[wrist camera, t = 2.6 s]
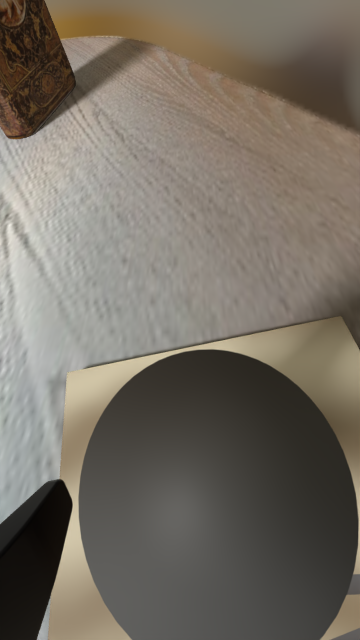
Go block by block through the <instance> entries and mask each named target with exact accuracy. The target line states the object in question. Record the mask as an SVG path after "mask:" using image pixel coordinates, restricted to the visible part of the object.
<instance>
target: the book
mask: <svg viewBox="0 0 360 640" xmlns="http://www.w3.org/2000/svg"><path fill="white" fill-rule="evenodd" d="M75 85H76V81H75V77H74V74H73V71H72V68H71V65H70V63H69V60H68V58H67V55H66V53H65V50H64V48H63V45H62V43H61V41H60V38H59V36H58V33H57V31H56V28H55V26H54V23H53V21H52V18H51V16H50V13H49V11H48V8H47V6H46V3H45V1H44V0H0V127H1V129H2V130H3V132H4V133H5V135H6V136H7V137H8V138H10V139H21V138H26V137H29V136H31V135H33V134H35V133H36V132H37V131H38V129H39V128H40V127H41V126H42V125H43V124H44V122H45V121H46V120H47V119H48V118H49V117H50V116H51V114H52V113H53V112H54V111H55V110H56V109H57V107H58V106H59V105H60V104H61V103H62V102H63V100H64V99H65V98H66V97H67V96H68V95H69V93H70V92H71V90H72V89H73V88H74V86H75Z"/></svg>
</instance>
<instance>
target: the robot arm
mask: <svg viewBox="0 0 360 640" xmlns="http://www.w3.org/2000/svg"><path fill="white" fill-rule="evenodd" d="M72 509H73V502H72V498H71V496H70V493H69V491H68V489H67V487H66V484H65V482H64V481H63V480H62V479H57V480H52V481H48V482H46V483H45V484H44V485H43V486H42V487H41V488H40V489H38V490H37V491H36V492H35V493H34V494H33V495H32V496H31V497H30V498H29V499H27V500H26V501H25V502H24V503H23V504H22V505H21V506H20V507H19V508H18V509H16V510H15V511H14V512H13V513H12V514H11V515H10V516H9V517H8V518H7V519H5V520H4V521H3V522H2V523H1V524H0V640H37V637H38V634H39V630H40V627H41V624H42V621H43V618H44V615H45V612H46V608H47V605H48V602H49V599H50V596H51V593H52V590H53V586H54V583H55V580H56V576H57V573H58V569H59V565H60V561H61V556H62V552H63V548H64V544H65V539H66V535H67V531H68V526H69V522H70V518H71V514H72Z"/></svg>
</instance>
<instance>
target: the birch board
mask: <svg viewBox="0 0 360 640" xmlns="http://www.w3.org/2000/svg"><path fill="white" fill-rule="evenodd" d="M202 349H215V350H225V351H231V352H235V353H240V354H243V355H246V356H249V357H252V358H255V359H257V360H259V361H261V362H263V363H266V364H268V365H270V366H271V367H273V368H275V369H276V370H278V371H279V372H281V373H282V374H284V375H285V376H287V377H288V378H289V379H290V380H292V381H293V382H294V383H295V384H296V385H298V386H299V387H300V388H301V389H302V390H303V391H304V392H305V393H306V394H307V395H308V396H309V397H310V398H311V399H312V401H313V402H314V403H315V404H316V406H317V407H318V408H319V410H320V411H321V412H322V413H323V415H324V416H325V418H326V419H327V421H328V423H329V424H330V426H331V427H332V429H333V431H334V432H335V434H336V437H337V439H338V441H339V443H340V445H341V447H342V449H343V451H344V454H345V457H346V460H347V463H348V465H349V468H350V471H351V475H352V479H353V484H354V488H355V492H356V499H357V508H358V517H359V531H358V549H357V556H356V563H355V569H354V573H353V576H352V580H351V583H350V586H349V590H348V593H347V595H346V597H345V600H344V602H343V604H342V606H341V608H340V610H339V613H338V615H337V617H336V618H335V620H334V621H333V623H332V624H331V625H330V627H329V628H328V630H327V631H326V633H325V634H324V636H323V637H322V638H321V639H320V640H360V350H359V348H358V346H357V344H356V343H355V341H354V339H353V337H352V335H351V333H350V331H349V330H348V328H347V326H346V324H345V322H344V320H343V318H342V316H338V317H333V318H328V319H324V320H319V321H314V322H309V323H304V324H299V325H295V326H290V327H285V328H280V329H275V330H270V331H266V332H261V333H256V334H251V335H246V336H241V337H237V338H232V339H227V340H222V341H217V342H212V343H208V344H203V345H198V346H193V347H188V348H183V349H179V350H174V351H169V352H164V353H159V354H154V355H150V356H145V357H140V358H135V359H130V360H125V361H121V362H116V363H111V364H106V365H101V366H96V367H91V368H87V369H82V370H77V371H72V372H67V383H66V397H65V411H64V424H63V438H62V452H61V466H60V479H62V480H63V481H64V482H65V484H66V487H67V489H68V491H69V493H70V496H71V498H72V502H73V509H72V514H71V518H70V522H69V526H68V531H67V535H66V539H65V544H64V548H63V552H62V556H61V561H60V565H59V569H58V573H57V576H56V580H55V583H54V586H53V590H52V593H51V604H50V618H49V632H48V640H132V639H131V638H130V637H129V636H128V635H127V633H126V632H125V631H124V630H123V629H122V628H121V627H120V625H119V624H118V623H117V622H116V620H115V619H114V617H113V616H112V614H111V612H110V611H109V609H108V608H107V606H106V605H105V603H104V601H103V599H102V597H101V595H100V593H99V591H98V589H97V587H96V585H95V583H94V581H93V578H92V575H91V572H90V569H89V567H88V564H87V561H86V557H85V553H84V548H83V544H82V540H81V532H80V524H79V503H78V495H79V484H80V475H81V470H82V465H83V460H84V456H85V453H86V449H87V446H88V443H89V440H90V438H91V435H92V433H93V430H94V428H95V426H96V424H97V422H98V420H99V418H100V416H101V415H102V413H103V411H104V409H105V408H106V407H107V405H108V404H109V402H110V401H111V400H112V398H113V397H114V396H115V395H116V393H117V392H118V391H119V390H120V389H121V388H122V387H123V386H124V385H125V384H126V383H127V382H128V381H129V380H130V379H131V378H132V377H133V376H135V375H136V374H137V373H139V372H140V371H142V370H143V369H144V368H146V367H148V366H149V365H151V364H153V363H155V362H157V361H158V360H161V359H163V358H166V357H168V356H171V355H174V354H178V353H182V352H185V351H192V350H202Z"/></svg>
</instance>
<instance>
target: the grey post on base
mask: <svg viewBox="0 0 360 640" xmlns="http://www.w3.org/2000/svg"><path fill="white" fill-rule="evenodd" d="M78 503H79V524H80V532H81V540H82V544H83V548H84V553H85V557H86V561H87V564H88V567H89V569H90V572H91V575H92V578H93V581H94V583H95V585H96V587H97V589H98V591H99V593H100V595H101V597H102V599H103V601H104V603H105V605H106V606H107V608H108V609H109V611H110V612H111V614H112V616H113V617H114V619H115V620H116V622H117V623H118V624H119V625H120V627H121V628H122V629H123V630H124V631H125V632H126V633H127V635H128V636H129V637H130V638H131V639H132V640H320V639H321V638H322V637H323V636H324V634H325V633H326V631H327V630H328V628H329V627H330V625H331V624H332V623H333V621H334V620H335V618H336V617H337V615H338V613H339V610H340V608H341V606H342V604H343V602H344V600H345V597H346V595H347V593H348V590H349V586H350V583H351V580H352V576H353V573H354V569H355V563H356V556H357V549H358V531H359V517H358V508H357V499H356V492H355V488H354V484H353V479H352V475H351V471H350V468H349V465H348V463H347V460H346V457H345V454H344V451H343V449H342V447H341V445H340V443H339V441H338V439H337V437H336V434H335V432H334V431H333V429H332V427H331V426H330V424H329V423H328V421H327V419H326V418H325V416H324V415H323V413H322V412H321V411H320V410H319V408H318V407H317V406H316V404H315V403H314V402H313V401H312V399H311V398H310V397H309V396H308V395H307V394H306V393H305V392H304V391H303V390H302V389H301V388H300V387H299V386H298V385H296V384H295V383H294V382H293V381H292V380H290V379H289V378H288V377H287V376H285V375H284V374H282V373H281V372H279V371H278V370H276V369H275V368H273V367H271V366H270V365H268V364H266V363H263V362H261V361H259V360H257V359H255V358H252V357H249V356H246V355H243V354H240V353H235V352H231V351H225V350H215V349H202V350H192V351H185V352H182V353H178V354H174V355H171V356H168V357H166V358H163V359H161V360H158V361H157V362H155V363H153V364H151V365H149V366H148V367H146V368H144V369H143V370H142V371H140V372H139V373H137V374H136V375H135V376H133V377H132V378H131V379H130V380H129V381H128V382H127V383H126V384H125V385H124V386H123V387H122V388H121V389H120V390H119V391H118V392H117V393H116V395H115V396H114V397H113V398H112V400H111V401H110V402H109V404H108V405H107V407H106V408H105V409H104V411H103V413H102V415H101V416H100V418H99V420H98V422H97V424H96V426H95V428H94V430H93V433H92V435H91V438H90V440H89V443H88V446H87V449H86V453H85V456H84V460H83V465H82V470H81V475H80V484H79V495H78Z"/></svg>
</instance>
